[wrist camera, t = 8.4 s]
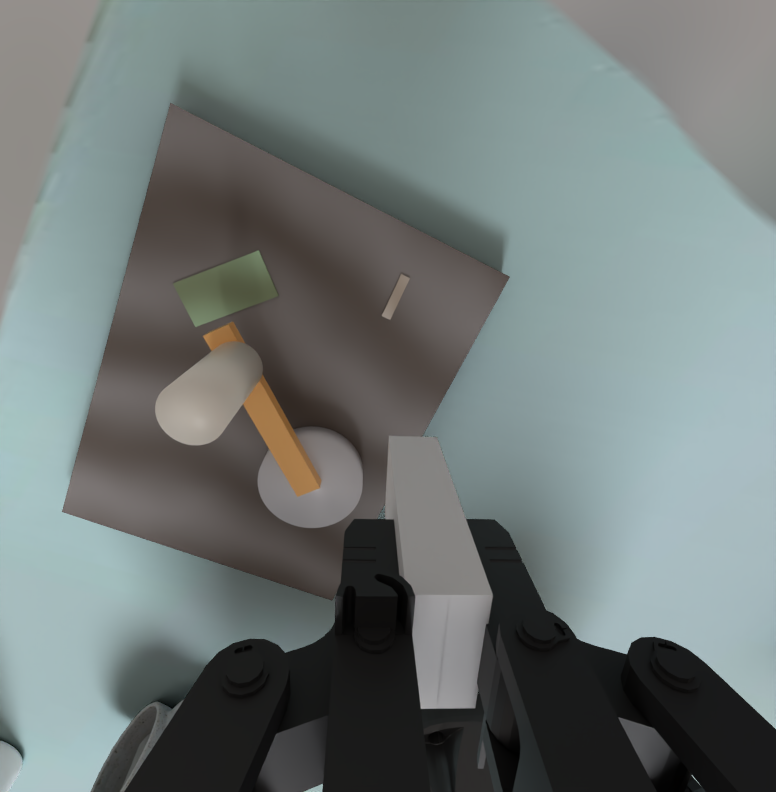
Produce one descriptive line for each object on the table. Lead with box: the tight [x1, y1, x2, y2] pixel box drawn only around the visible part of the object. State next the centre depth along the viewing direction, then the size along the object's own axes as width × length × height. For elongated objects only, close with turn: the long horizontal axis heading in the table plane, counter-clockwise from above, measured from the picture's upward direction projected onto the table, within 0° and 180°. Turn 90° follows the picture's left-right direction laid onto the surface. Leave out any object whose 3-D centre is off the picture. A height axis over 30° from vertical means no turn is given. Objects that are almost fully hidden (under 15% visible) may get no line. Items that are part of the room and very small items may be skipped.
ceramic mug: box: [91, 699, 184, 792], centre depth 33 cm, size 11×8×8 cm
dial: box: [155, 322, 363, 528], centre depth 22 cm, size 13×6×8 cm, turn 23°
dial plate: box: [62, 103, 509, 600], centre depth 26 cm, size 24×18×2 cm
